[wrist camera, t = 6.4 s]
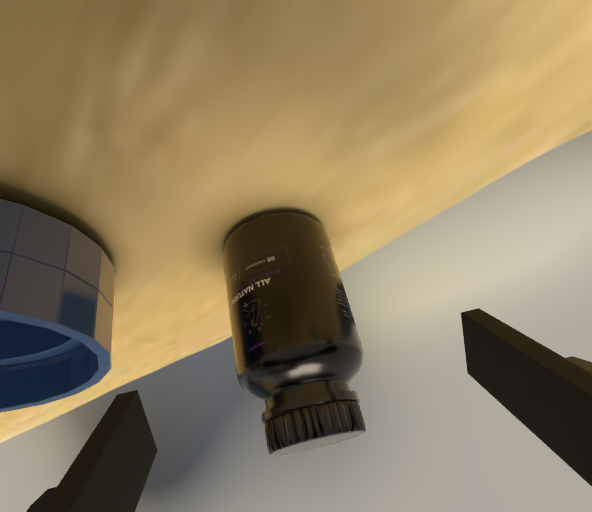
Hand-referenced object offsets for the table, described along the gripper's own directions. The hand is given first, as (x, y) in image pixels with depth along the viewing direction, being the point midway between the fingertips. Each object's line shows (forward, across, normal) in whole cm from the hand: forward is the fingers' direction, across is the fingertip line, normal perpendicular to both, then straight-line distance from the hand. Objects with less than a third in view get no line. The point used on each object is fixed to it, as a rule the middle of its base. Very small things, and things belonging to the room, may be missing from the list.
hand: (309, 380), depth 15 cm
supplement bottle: (+11, 0, +4) cm, 11 cm away
